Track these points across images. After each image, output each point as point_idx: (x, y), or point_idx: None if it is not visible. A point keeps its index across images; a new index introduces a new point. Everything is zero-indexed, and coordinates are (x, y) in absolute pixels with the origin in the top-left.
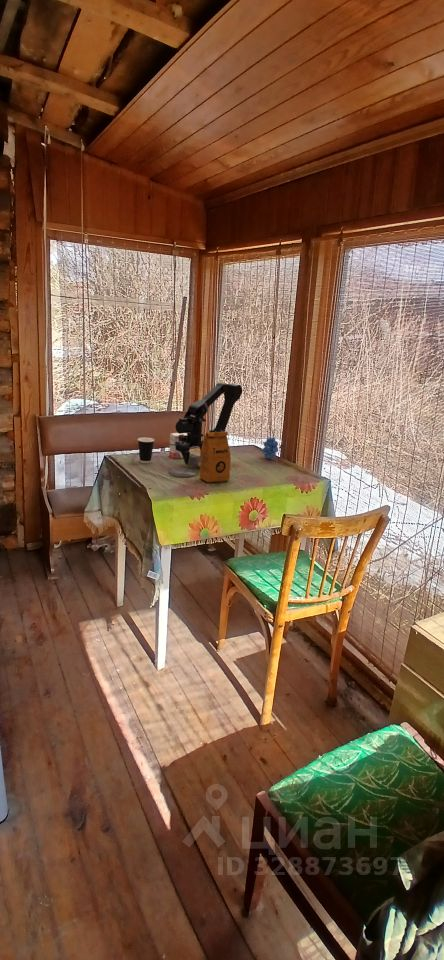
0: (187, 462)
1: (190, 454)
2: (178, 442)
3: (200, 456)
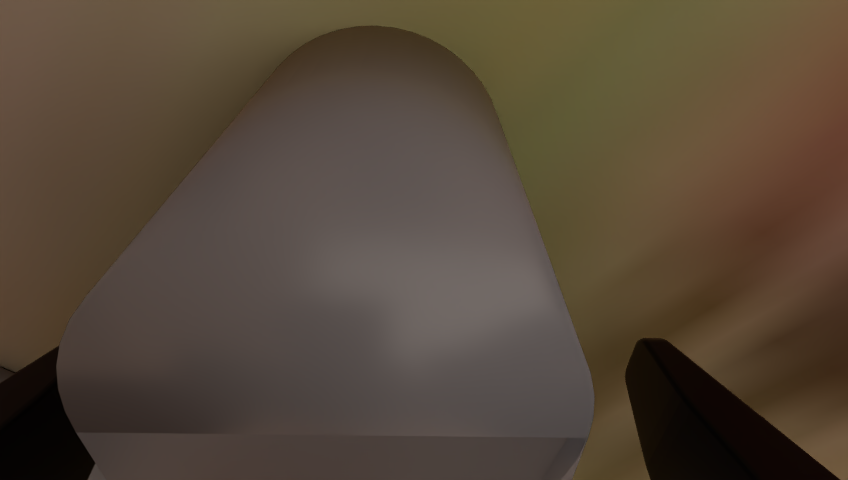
0: (81, 452)
1: (371, 418)
2: None
3: (736, 474)
